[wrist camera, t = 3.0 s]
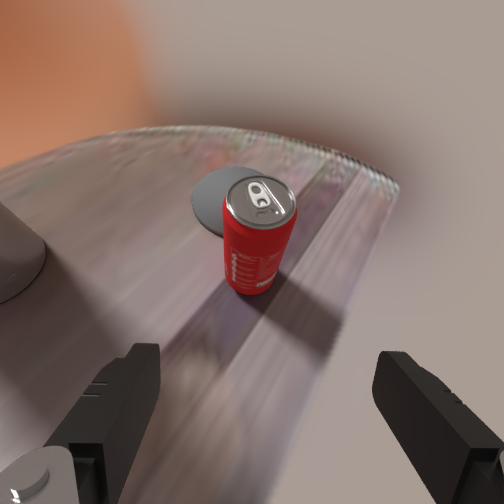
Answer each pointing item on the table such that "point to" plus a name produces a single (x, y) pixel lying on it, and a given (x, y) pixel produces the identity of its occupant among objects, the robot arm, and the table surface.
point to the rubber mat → (215, 195)
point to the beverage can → (256, 231)
